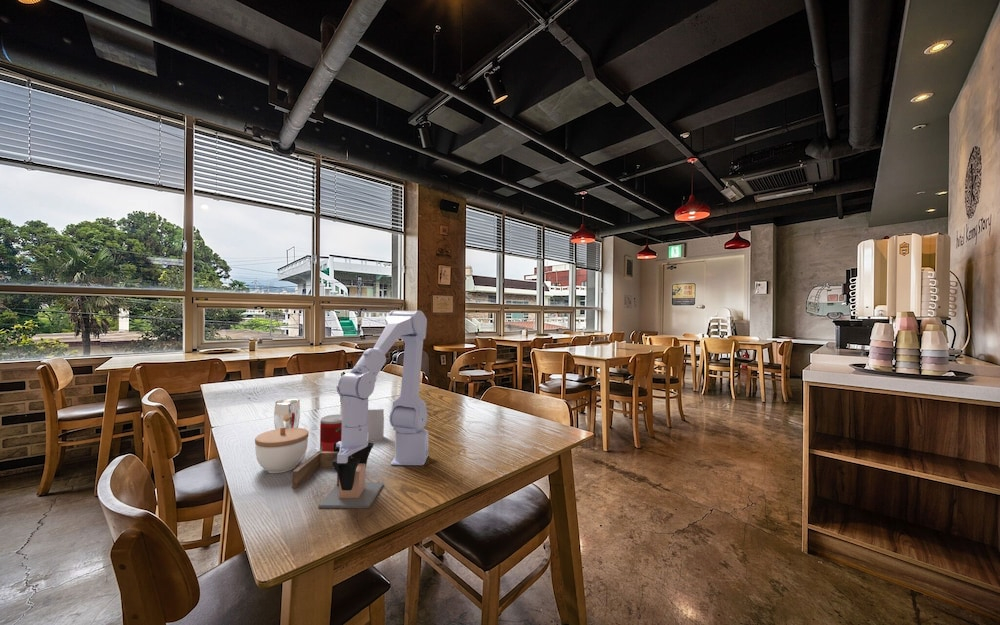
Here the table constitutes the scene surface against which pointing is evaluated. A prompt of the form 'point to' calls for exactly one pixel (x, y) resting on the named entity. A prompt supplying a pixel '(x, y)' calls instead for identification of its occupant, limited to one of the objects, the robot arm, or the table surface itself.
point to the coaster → (361, 502)
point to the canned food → (330, 432)
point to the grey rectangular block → (376, 424)
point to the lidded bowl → (281, 449)
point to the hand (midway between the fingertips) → (353, 481)
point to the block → (355, 484)
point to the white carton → (287, 413)
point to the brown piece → (313, 467)
